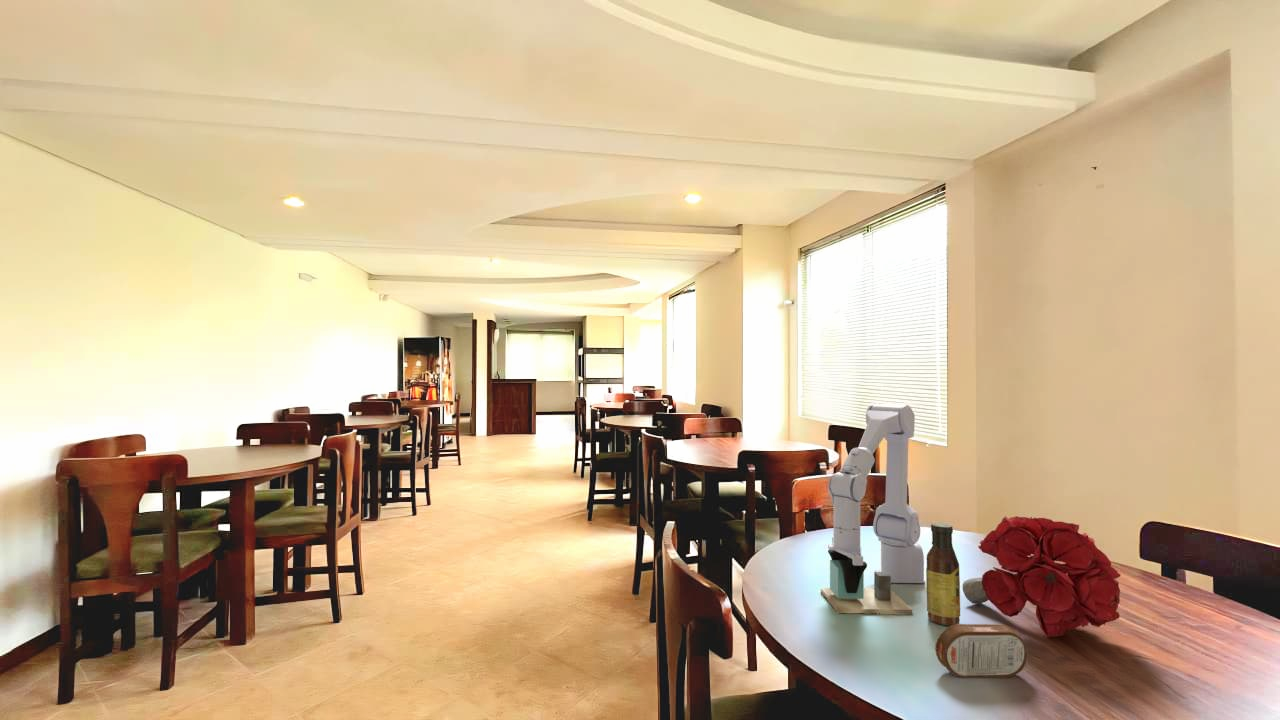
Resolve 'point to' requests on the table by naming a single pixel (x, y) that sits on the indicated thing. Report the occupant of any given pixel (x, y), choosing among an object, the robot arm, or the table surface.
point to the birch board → (871, 599)
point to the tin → (981, 651)
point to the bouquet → (1047, 575)
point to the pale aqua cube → (843, 583)
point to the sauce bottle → (942, 577)
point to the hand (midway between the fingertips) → (846, 587)
